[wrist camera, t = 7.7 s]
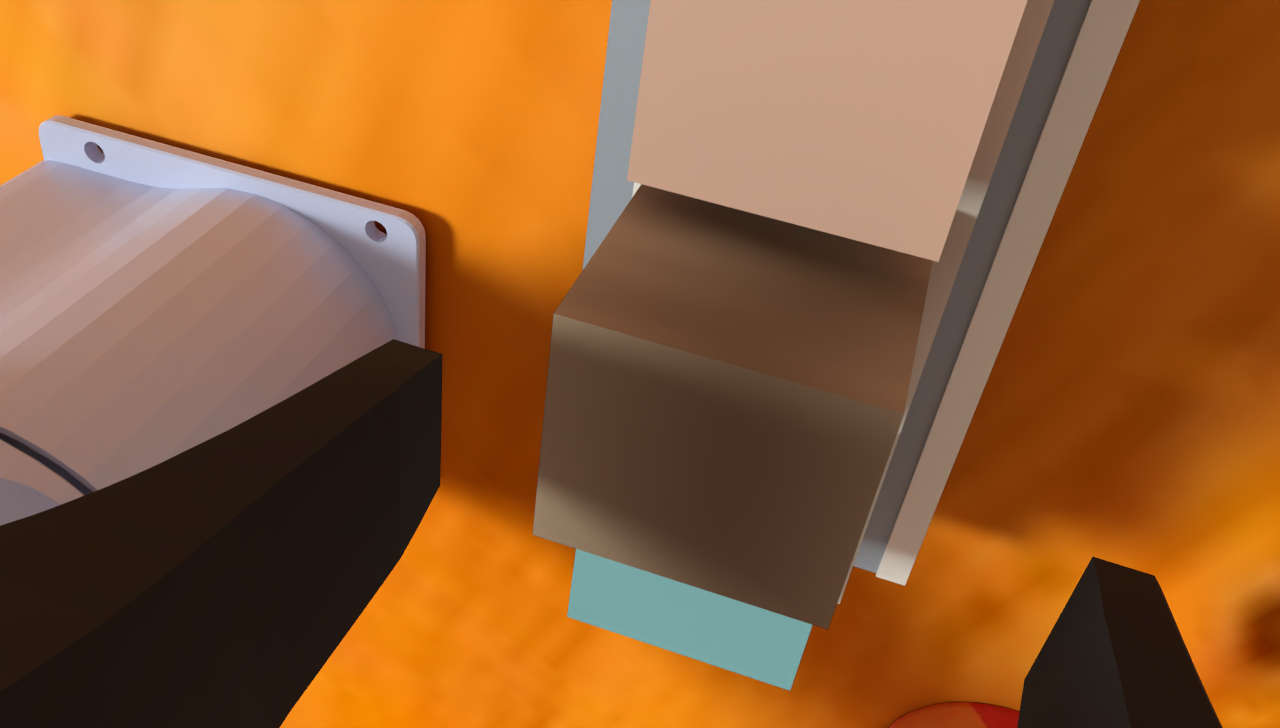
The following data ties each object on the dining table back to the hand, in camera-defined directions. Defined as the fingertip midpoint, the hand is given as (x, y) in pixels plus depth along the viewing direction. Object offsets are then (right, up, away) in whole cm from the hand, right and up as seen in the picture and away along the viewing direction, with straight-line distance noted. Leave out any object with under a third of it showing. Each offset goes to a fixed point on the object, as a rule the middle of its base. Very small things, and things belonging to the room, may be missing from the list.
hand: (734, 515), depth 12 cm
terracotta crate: (+2, +6, +2) cm, 7 cm away
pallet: (+2, +4, +7) cm, 8 cm away
